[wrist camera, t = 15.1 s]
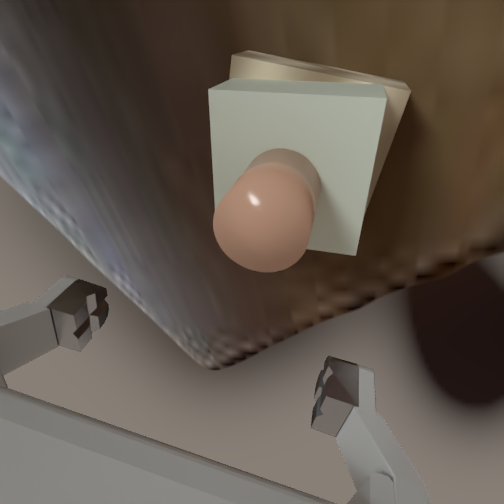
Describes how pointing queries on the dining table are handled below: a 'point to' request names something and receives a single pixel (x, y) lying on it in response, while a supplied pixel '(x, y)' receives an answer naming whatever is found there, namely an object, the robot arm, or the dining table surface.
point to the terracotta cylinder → (269, 211)
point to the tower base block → (296, 70)
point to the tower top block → (303, 143)
